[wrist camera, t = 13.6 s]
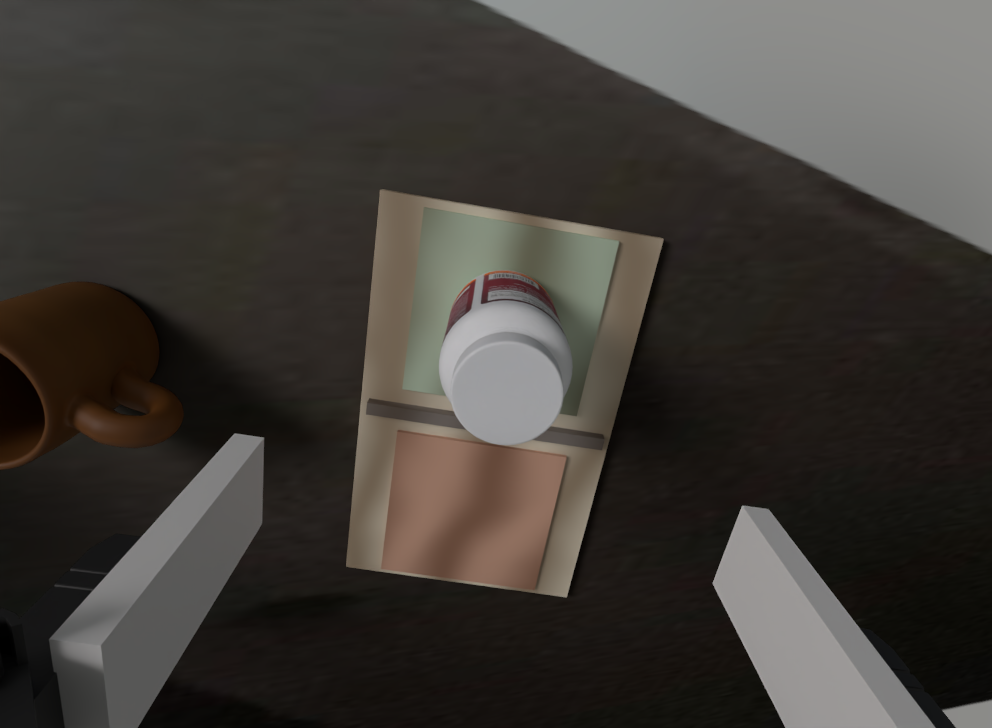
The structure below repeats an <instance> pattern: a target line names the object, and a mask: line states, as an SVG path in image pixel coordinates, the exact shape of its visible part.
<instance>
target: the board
mask: <svg viewBox="0 0 992 728" xmlns="http://www.w3.org/2000/svg"><path fill="white" fill-rule="evenodd" d="M663 240H664V239H662V238H660V237H654V236H649V235H643V234H637V233H631V232H626V231H620V230H614V229H608V228H603V227H597V226H591V225H585V224H580V223H574V222H568V221H562V220H557V219H551V218H545V217H540V216H534V215H528V214H522V213H517V212H511V211H505V210H499V209H494V208H488V207H482V206H476V205H471V204H465V203H459V202H453V201H448V200H442V199H436V198H430V197H425V196H419V195H413V194H408V193H402V192H396V191H390V190H385V189H381V190H380V198H379V209H378V220H377V231H376V242H375V253H374V264H373V275H372V286H371V297H370V308H369V319H368V330H367V341H366V352H365V363H364V374H363V385H362V396H361V407H360V418H359V429H358V440H357V451H356V463H355V474H354V485H353V496H352V507H351V518H350V529H349V540H348V551H347V562H346V567H351V568H358V569H366V570H373V571H380V572H387V573H395V574H402V575H409V576H416V577H423V578H431V579H438V580H445V581H452V582H460V583H467V584H474V585H481V586H489V587H496V588H503V589H510V590H517V591H525V592H532V593H539V594H546V595H554V596H561V597H567V594H568V591H569V587H570V583H571V580H572V576H573V572H574V569H575V565H576V561H577V557H578V554H579V550H580V546H581V543H582V539H583V535H584V532H585V528H586V524H587V521H588V517H589V513H590V510H591V506H592V502H593V498H594V495H595V491H596V487H597V484H598V480H599V476H600V473H601V469H602V465H603V462H604V458H605V454H606V450H607V447H608V443H609V439H610V436H611V432H612V428H613V425H614V421H615V417H616V414H617V410H618V406H619V403H620V399H621V395H622V391H623V388H624V384H625V380H626V377H627V373H628V369H629V366H630V362H631V358H632V355H633V351H634V347H635V343H636V340H637V336H638V332H639V329H640V325H641V321H642V318H643V314H644V310H645V307H646V303H647V299H648V296H649V292H650V288H651V284H652V281H653V277H654V273H655V270H656V266H657V262H658V259H659V255H660V251H661V248H662V244H663ZM496 270H510V271H516V272H520V273H523V274H525V275H527V276H529V277H531V278H532V279H534V280H535V281H537V282H538V283H539V284H540V285H541V286H542V287H543V288H544V289H545V291H546V292H547V293H548V295H549V296H550V298H551V300H552V302H553V304H554V307H555V310H556V312H557V315H558V318H559V320H560V323H561V325H562V328H563V331H564V333H565V335H566V338H567V341H568V344H569V347H570V350H571V355H572V366H573V368H572V377H571V382H570V385H569V388H568V390H567V393H566V394H565V396H564V398H563V404H562V407H561V410H560V413H559V415H558V417H557V418H556V420H555V421H554V423H553V424H552V425H551V426H550V427H549V428H548V429H547V430H546V431H545V432H544V433H543V434H541V435H540V436H538V437H537V438H535V439H533V440H531V441H528V442H525V443H521V444H517V445H497V444H492V443H489V442H486V441H483V440H481V439H479V438H477V437H475V436H474V435H473V434H471V433H470V432H469V431H467V430H466V429H465V428H464V427H463V425H462V424H461V423H460V422H459V420H458V418H457V417H456V415H455V413H454V410H453V408H452V404H451V403H450V401H449V400H448V398H447V396H446V394H445V392H444V390H443V388H442V385H441V381H440V375H439V358H440V352H441V347H442V344H443V340H444V336H445V332H446V329H447V325H448V321H449V316H450V312H451V308H452V306H453V303H454V301H455V299H456V297H457V296H458V294H459V293H460V291H461V290H462V289H463V288H464V287H465V286H466V285H467V284H468V283H469V282H470V281H471V280H473V279H474V278H476V277H478V276H479V275H482V274H484V273H487V272H491V271H496Z"/></svg>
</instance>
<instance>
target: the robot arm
mask: <svg viewBox="0 0 992 728" xmlns="http://www.w3.org/2000/svg"><path fill="white" fill-rule="evenodd" d="M263 464H264V438H263V437H256V436H249V435H242V434H235V433H234V435H233V436H232V437H231V438H230V439H229V440H228V441H227V442H226V443H225V445H224V446H223V447H222V448H221V449H220V450H219V451H218V452H217V453H216V455H215V456H214V457H213V458H212V459H211V460H210V461H209V462H208V463H207V465H206V466H205V467H204V468H203V469H202V470H201V471H200V472H199V473H198V475H197V476H196V477H195V478H194V479H193V480H192V481H191V482H190V483H189V485H188V486H187V487H186V488H185V489H184V490H183V491H182V492H181V493H180V494H179V496H178V497H177V498H176V499H175V500H174V501H173V502H172V503H171V504H170V506H169V507H168V508H167V509H166V510H165V511H164V512H163V513H162V514H161V516H160V517H159V518H158V519H157V520H156V521H155V522H154V523H153V524H152V526H151V527H150V528H149V529H148V530H147V531H146V532H145V533H144V534H143V536H142V537H138V536H130V535H122V534H115V535H113V536H111V537H110V538H108V539H106V540H104V541H103V542H101V543H99V544H97V545H95V546H94V547H92V548H90V549H89V550H88V551H87V552H86V553H85V554H84V555H83V556H82V557H81V558H80V559H79V560H78V561H77V562H76V563H75V564H74V565H73V566H72V567H71V569H70V571H69V572H68V571H67V572H66V573H65V574H64V575H63V576H62V577H61V578H60V579H59V580H58V581H57V582H56V583H55V586H54V587H53V588H52V587H51V588H50V589H49V590H48V591H47V592H46V593H45V594H44V595H43V596H42V597H41V598H40V599H39V600H38V601H37V602H36V603H35V604H34V605H33V606H32V607H31V608H30V609H29V610H28V611H27V612H26V613H25V614H24V615H23V616H22V617H21V618H20V619H19V617H18V616H17V614H16V613H13V612H11V611H9V610H6V609H4V608H0V728H138V726H139V724H140V723H141V721H142V719H143V718H144V716H145V714H146V713H147V711H148V710H149V708H150V706H151V705H152V703H153V701H154V700H155V698H156V696H157V695H158V693H159V692H160V690H161V688H162V687H163V685H164V683H165V682H166V680H167V678H168V677H169V675H170V674H171V672H172V670H173V669H174V667H175V665H176V664H177V662H178V660H179V659H180V657H181V656H182V654H183V652H184V651H185V649H186V647H187V646H188V644H189V642H190V641H191V639H192V638H193V636H194V634H195V633H196V631H197V629H198V628H199V626H200V624H201V623H202V621H203V620H204V618H205V616H206V615H207V613H208V611H209V610H210V608H211V606H212V605H213V603H214V602H215V600H216V598H217V597H218V595H219V593H220V592H221V590H222V588H223V587H224V585H225V584H226V582H227V580H228V579H229V577H230V575H231V574H232V572H233V570H234V569H235V567H236V566H237V564H238V562H239V561H240V559H241V557H242V556H243V554H244V552H245V551H246V549H247V548H248V546H249V544H250V543H251V541H252V539H253V538H254V536H255V535H256V533H257V531H258V530H259V528H260V526H261V525H262V505H263ZM713 585H714V587H715V589H716V591H717V593H718V595H719V597H720V599H721V601H722V603H723V605H724V607H725V609H726V611H727V613H728V615H729V617H730V619H731V621H732V623H733V625H734V627H735V629H736V631H737V633H738V635H739V637H740V639H741V641H742V643H743V645H744V647H745V649H746V651H747V653H748V655H749V657H750V659H751V661H752V662H753V664H754V666H755V668H756V670H757V672H758V674H759V676H760V678H761V680H762V682H763V684H764V686H765V688H766V690H767V692H768V694H769V696H770V698H771V700H772V702H773V704H774V706H775V708H776V710H777V712H778V714H779V716H780V718H781V720H782V722H783V724H784V726H785V728H955V727H954V725H953V724H952V722H951V721H950V720H949V719H948V717H947V716H946V715H945V714H944V712H943V711H942V710H941V709H940V707H939V706H938V705H937V704H936V702H935V701H934V700H933V699H932V697H931V696H930V695H929V694H928V693H926V692H924V687H923V686H922V685H921V684H920V682H919V681H918V680H917V679H916V677H915V676H914V675H911V674H910V670H909V669H908V667H907V666H906V665H905V664H904V662H903V661H902V660H901V659H900V657H899V656H898V655H897V654H896V652H895V651H894V650H893V649H892V648H891V647H890V646H889V645H887V644H886V643H885V642H884V641H883V640H881V639H880V638H879V637H878V636H877V635H876V634H874V633H873V632H872V631H871V630H870V629H863V628H859V627H858V626H857V624H856V623H855V622H854V620H853V619H852V618H851V616H850V615H849V614H848V613H847V611H846V610H845V609H844V607H843V606H842V605H841V603H840V602H839V601H838V599H837V598H836V597H835V596H834V594H833V593H832V592H831V590H830V589H829V588H828V586H827V585H826V584H825V582H824V581H823V580H822V579H821V577H820V576H819V575H818V573H817V572H816V571H815V569H814V568H813V567H812V565H811V564H810V563H809V562H808V560H807V559H806V558H805V556H804V555H803V554H802V552H801V551H800V550H799V548H798V547H797V546H796V545H795V543H794V542H793V541H792V539H791V538H790V537H789V535H788V534H787V533H786V531H785V530H784V529H783V528H782V526H781V525H780V524H779V522H778V521H777V520H776V518H775V517H774V516H773V514H772V513H771V512H770V511H769V509H763V508H756V507H749V506H742V508H741V510H740V513H739V515H738V518H737V521H736V523H735V526H734V528H733V531H732V534H731V536H730V539H729V541H728V544H727V547H726V549H725V552H724V555H723V557H722V560H721V562H720V565H719V568H718V570H717V573H716V575H715V578H714V581H713Z"/></svg>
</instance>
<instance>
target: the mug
mask: <svg viewBox="0 0 992 728" xmlns="http://www.w3.org/2000/svg"><path fill="white" fill-rule="evenodd" d="M158 361H159V342H158V338H157V335H156V332H155V329H154V327H153V325H152V323H151V321H150V320H149V318H148V317H147V315H146V314H145V313H144V312H143V310H142V309H141V308H140V307H139V306H138V305H137V304H136V303H135V302H133V301H132V300H131V299H130V298H128V297H127V296H125V295H124V294H122V293H120V292H118V291H116V290H114V289H112V288H110V287H107V286H104V285H101V284H97V283H92V282H69V283H63V284H59V285H55V286H52V287H48V288H45V289H42V290H39V291H35V292H32V293H28V294H24V295H21V296H17V297H14V298H11V299H8V300H4V301H1V302H0V470H4V469H11V468H16V467H19V466H22V465H25V464H27V463H29V462H31V461H33V460H35V459H36V458H38V457H40V456H41V455H43V454H45V453H47V452H49V451H51V450H53V449H55V448H56V447H58V446H60V445H61V444H63V443H64V442H66V441H68V440H69V439H71V438H72V437H74V436H75V435H76V434H78V433H79V432H81V433H83V434H85V435H86V436H88V437H90V438H91V439H93V440H94V441H96V442H99V443H102V444H106V445H111V446H117V447H126V448H139V447H146V446H152V445H154V444H157V443H160V442H163V441H165V440H166V439H168V438H169V437H170V436H172V435H173V434H174V433H175V432H176V431H177V430H178V428H179V427H180V426H181V423H182V421H183V416H184V412H183V407H182V403H181V402H180V401H179V399H178V398H177V397H176V395H175V394H174V393H172V392H171V391H170V390H168V389H166V388H164V387H162V386H160V385H157V384H154V383H151V382H149V381H150V379H151V378H152V377H153V375H154V373H155V371H156V369H157V366H158ZM120 404H121V405H123V406H125V407H128V408H130V409H133V410H137V411H140V412H143V413H145V414H147V415H142V416H130V415H124V414H120V413H117V412H116V411H114V410H113V409H114V408H116V407H117V406H119V405H120Z"/></svg>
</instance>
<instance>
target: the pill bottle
mask: <svg viewBox="0 0 992 728" xmlns="http://www.w3.org/2000/svg"><path fill="white" fill-rule="evenodd" d="M572 368H573V366H572V355H571V350H570V347H569V344H568V341H567V338H566V335H565V333H564V331H563V328H562V325H561V323H560V320H559V318H558V315H557V312H556V310H555V307H554V304H553V302H552V300H551V298H550V296H549V295H548V293H547V292H546V291H545V289H544V288H543V287H542V286H541V285H540V284H539V283H538V282H537V281H535V280H534V279H532V278H531V277H529V276H527V275H525V274H523V273H520V272H516V271H510V270H496V271H491V272H487V273H484V274H482V275H479V276H478V277H476V278H474V279H473V280H471V281H470V282H469V283H468V284H467V285H466V286H465V287H464V288H463V289H462V290H461V291H460V293H459V294H458V296H457V297H456V299H455V301H454V303H453V306H452V308H451V312H450V316H449V321H448V325H447V329H446V332H445V336H444V340H443V344H442V347H441V352H440V358H439V375H440V381H441V385H442V388H443V390H444V392H445V394H446V396H447V398H448V400H449V401H450V403H451V404H452V408H453V410H454V413H455V415H456V417H457V418H458V420H459V422H460V423H461V424H462V425H463V427H464V428H465V429H466V430H467V431H469V432H470V433H471V434H473V435H474V436H475V437H477V438H479V439H481V440H483V441H486V442H489V443H492V444H497V445H517V444H521V443H525V442H528V441H531V440H533V439H535V438H537V437H538V436H540V435H541V434H543V433H544V432H545V431H546V430H547V429H548V428H549V427H550V426H551V425H552V424H553V423H554V421H555V420H556V418H557V417H558V415H559V413H560V410H561V407H562V404H563V398H564V396H565V394H566V393H567V390H568V388H569V385H570V382H571V377H572Z"/></svg>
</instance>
